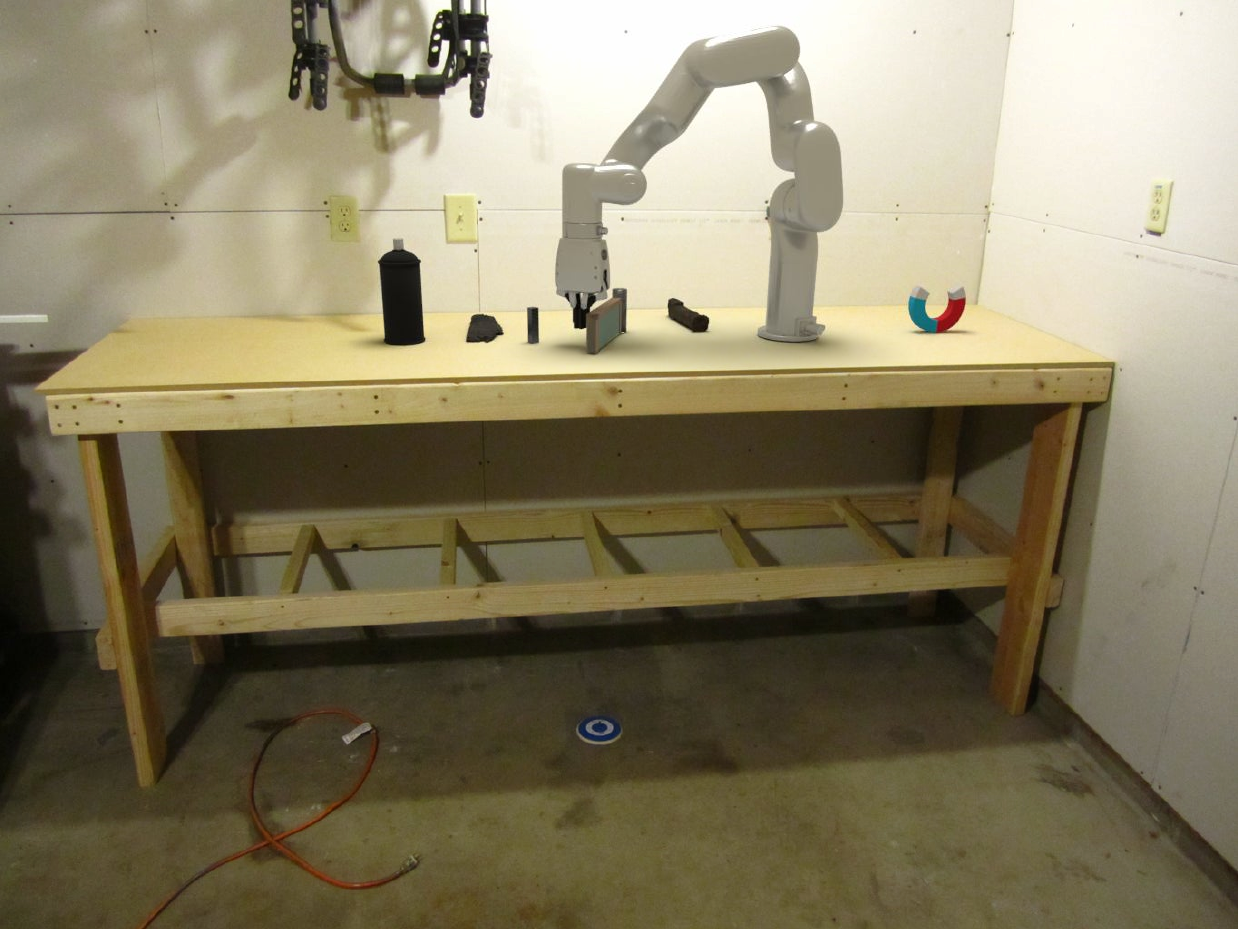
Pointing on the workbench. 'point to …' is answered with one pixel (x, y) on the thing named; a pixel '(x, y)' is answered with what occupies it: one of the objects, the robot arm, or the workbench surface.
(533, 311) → the gate posts
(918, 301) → the magnet
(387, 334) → the aerosol can
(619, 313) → the gate
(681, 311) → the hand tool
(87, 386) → the workbench surface
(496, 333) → the wood
